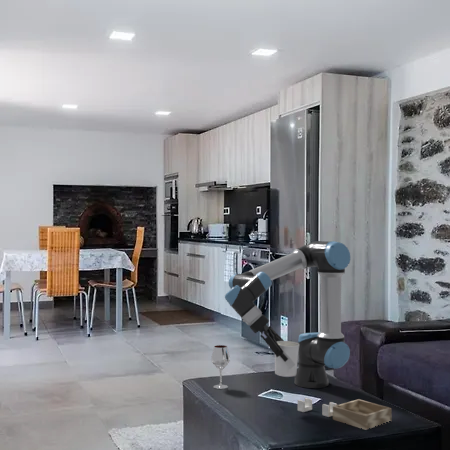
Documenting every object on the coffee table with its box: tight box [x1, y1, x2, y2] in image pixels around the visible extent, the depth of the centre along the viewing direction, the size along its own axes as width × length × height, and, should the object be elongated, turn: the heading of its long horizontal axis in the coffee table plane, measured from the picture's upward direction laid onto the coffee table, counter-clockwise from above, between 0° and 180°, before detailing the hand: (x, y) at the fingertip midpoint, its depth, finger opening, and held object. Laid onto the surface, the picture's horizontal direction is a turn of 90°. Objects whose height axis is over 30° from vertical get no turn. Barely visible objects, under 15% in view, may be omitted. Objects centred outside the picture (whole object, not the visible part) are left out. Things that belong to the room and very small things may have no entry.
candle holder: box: [274, 340, 299, 378], centre depth 239 cm, size 10×10×12 cm
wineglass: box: [211, 344, 231, 390], centre depth 271 cm, size 8×8×18 cm
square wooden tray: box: [332, 398, 392, 431], centre depth 225 cm, size 15×15×5 cm
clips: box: [297, 397, 338, 418], centre depth 234 cm, size 8×13×4 cm, turn 39°
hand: (294, 363), depth 238 cm, fingers closed on candle holder, 9 cm apart
